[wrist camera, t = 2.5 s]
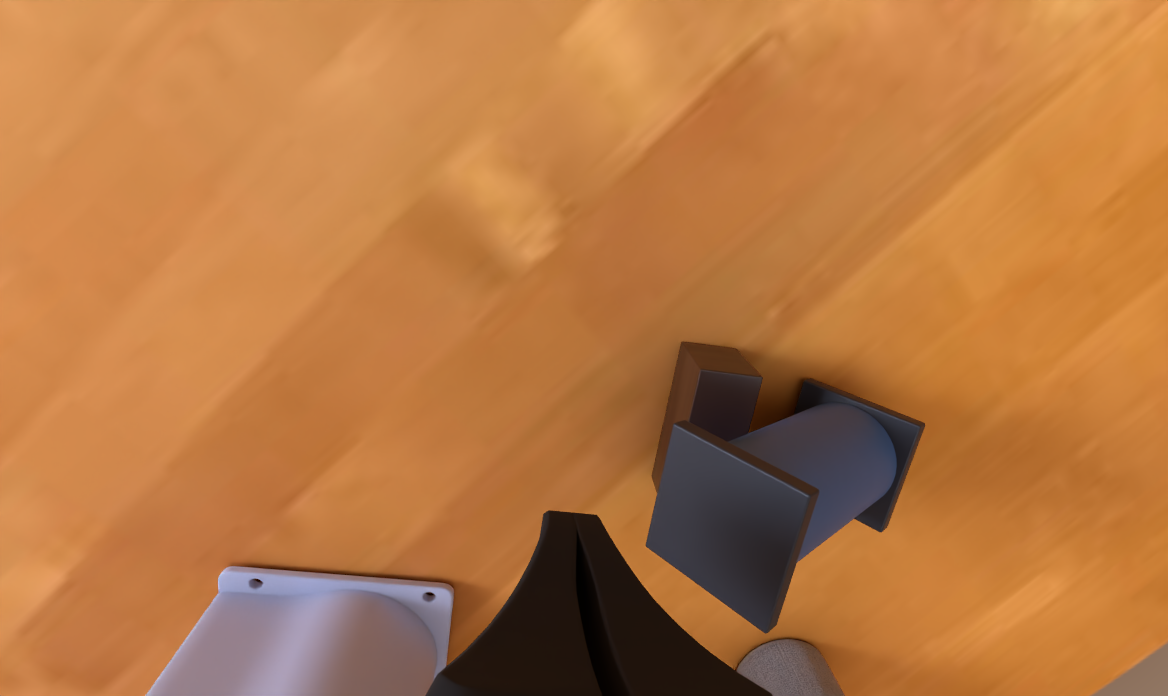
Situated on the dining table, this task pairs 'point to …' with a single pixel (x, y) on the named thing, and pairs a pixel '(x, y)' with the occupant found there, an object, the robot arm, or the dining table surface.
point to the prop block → (709, 395)
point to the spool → (777, 494)
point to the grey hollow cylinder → (790, 669)
